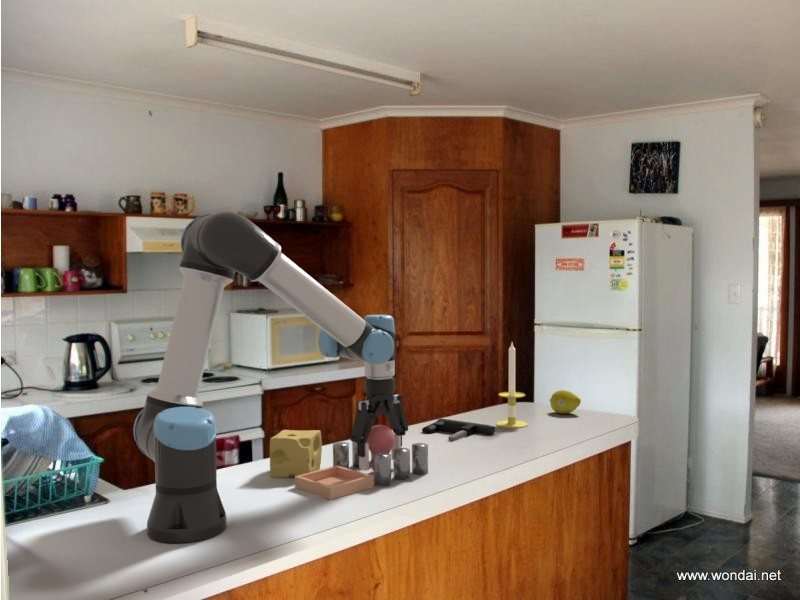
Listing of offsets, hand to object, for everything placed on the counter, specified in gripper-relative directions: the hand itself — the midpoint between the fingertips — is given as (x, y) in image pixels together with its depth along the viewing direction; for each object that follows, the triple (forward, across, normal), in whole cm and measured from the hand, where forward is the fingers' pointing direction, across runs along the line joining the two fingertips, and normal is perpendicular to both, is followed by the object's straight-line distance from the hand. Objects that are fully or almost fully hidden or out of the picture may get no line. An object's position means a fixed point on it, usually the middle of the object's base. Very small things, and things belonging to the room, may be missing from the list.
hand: (380, 464), depth 187 cm
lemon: (+2, +92, +5) cm, 92 cm away
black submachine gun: (+3, +44, +13) cm, 46 cm away
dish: (+2, -16, -1) cm, 16 cm away
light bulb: (+2, 0, 0) cm, 2 cm away
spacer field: (+2, 0, 0) cm, 2 cm away
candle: (+2, +66, +8) cm, 67 cm away
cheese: (+2, -15, +15) cm, 21 cm away
